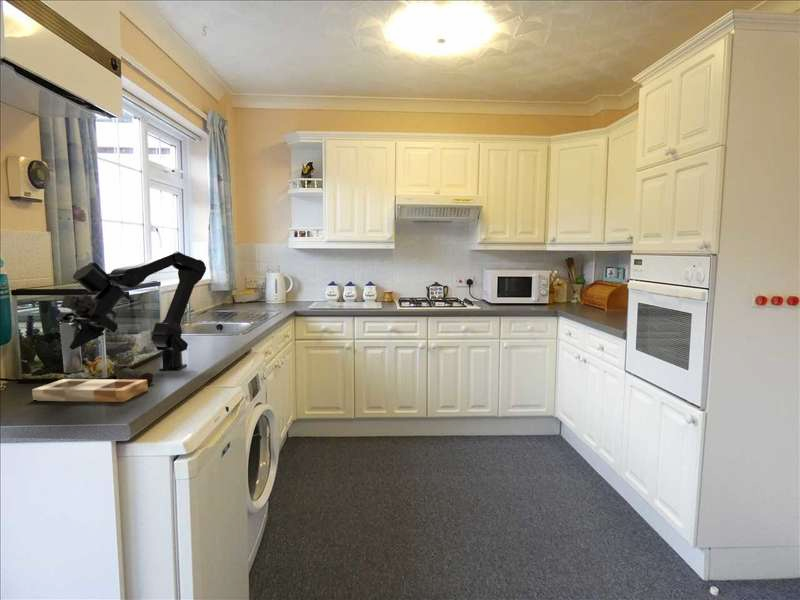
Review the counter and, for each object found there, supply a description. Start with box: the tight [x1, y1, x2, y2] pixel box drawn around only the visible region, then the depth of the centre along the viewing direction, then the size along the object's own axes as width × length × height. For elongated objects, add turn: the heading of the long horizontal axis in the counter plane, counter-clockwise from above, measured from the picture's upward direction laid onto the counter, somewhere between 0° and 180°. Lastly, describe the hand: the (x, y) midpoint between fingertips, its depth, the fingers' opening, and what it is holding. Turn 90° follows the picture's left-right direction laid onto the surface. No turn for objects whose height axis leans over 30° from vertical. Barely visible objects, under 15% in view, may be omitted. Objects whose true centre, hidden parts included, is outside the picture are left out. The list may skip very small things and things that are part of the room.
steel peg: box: [59, 323, 83, 374], centre depth 118 cm, size 4×4×13 cm
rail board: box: [31, 378, 149, 403], centre depth 119 cm, size 10×25×3 cm, turn 87°
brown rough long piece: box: [112, 362, 154, 385], centre depth 133 cm, size 19×4×5 cm, turn 55°
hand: (65, 348), depth 117 cm, fingers closed on steel peg, 4 cm apart
